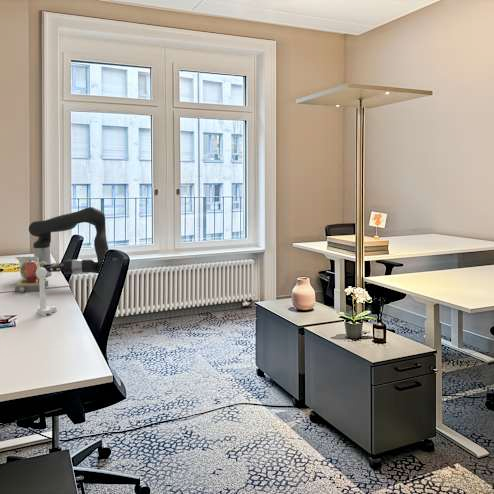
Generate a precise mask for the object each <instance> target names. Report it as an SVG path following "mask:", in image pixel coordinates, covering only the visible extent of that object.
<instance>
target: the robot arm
mask: <svg viewBox="0 0 494 494" xmlns="http://www.w3.org/2000/svg"><path fill="white" fill-rule="evenodd" d="M81 223H82V224H83V223H88V224H90V225H92V226H94V227H95V228H94V229H95V230H96V233H95V237H94V240H93V244H94V246H93V247H94V251H95V254H96V259H97V260H96V261H94V260H93V259H64V260H63V262H52V259H51V257H52V256H51V242H52V233H55V232H56V233H57V232H60V233H61V232H65V231H70V230H72V229H75V227H76V226H77V225H78V224H81ZM106 227H107V226H106V216H105V213H104V212H103V211H102V210H100V209H98V208H96V207H92V206H89V207H85V208H83V209H80V210H77V211H75V212H74V211H73V212H70V213H65V214H61V215H58V216H54V217H52V218H49V219H46V220H36V221H33V222H31V223H30V224H29V225H28V232H29V234H30V235H31V236H33V237H37V238H38V239H37V240H36V241H34V243H33V244H32V245H33V257H39V262H42V261H44V262H46V264H45V265H44V264H40V267H43V268H45V269H46V271H47V274H46V276H45V277H49V276H52V272H53V273H55V272H61V271H63V273H64V274H65V275H69V274H70V275H71V274H75V275H76V274H83V273H84V274H85V273H94V274H99V271H100V268H101V266H102V263H103V260H104V257H105V255H106V253H107V251H109V252H110V250H109V249H110V248H109V244H108V240H107V232H106V231H107V229H106Z"/></svg>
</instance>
